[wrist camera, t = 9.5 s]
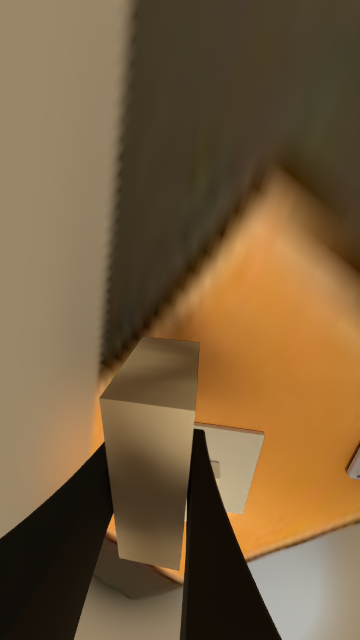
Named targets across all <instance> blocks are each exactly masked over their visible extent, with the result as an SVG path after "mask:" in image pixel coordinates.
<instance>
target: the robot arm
mask: <svg viewBox="0 0 360 640" xmlns="http://www.w3.org/2000/svg"><path fill="white" fill-rule="evenodd" d="M347 474H348V476H349V477H350V478H352V479H358V480H360V448H359V450H358V452H357V453H356V455H355V457H354V459H353V461H352V463H351V464H350V466H349V468H348V470H347ZM113 513H114V511H113V503H112V495H111V487H110V479H109V471H108V463H107V455H106V447H105V442H104V443H103V444H102V445H101V446H100V447H99V448H98V449H97V451H96V452H95V453H94V454H93V455H92V456H91V457H90V458H89V459H88V460H87V461H86V462H85V463H84V465H83V466H82V467H81V468H80V469H79V470H78V471H77V472H76V473H75V474H74V475H73V476H72V477H71V478H70V479H69V480H68V481H67V482H66V483H65V484H64V485H63V486H62V487H61V488H60V489H58V490H57V491H56V492H55V493H54V494H53V495H52V496H51V497H50V498H49V499H47V500H46V501H45V502H44V503H43V504H42V505H41V506H40V507H38V508H37V509H36V510H35V511H34V512H33V513H31V514H30V515H29V516H28V517H27V518H25V519H24V520H23V521H22V522H21V523H19V524H18V525H17V526H16V527H15V528H13V529H12V530H11V531H10V532H8V533H7V534H6V535H5V536H3V537H2V538H1V539H0V640H74V637H75V633H76V630H77V626H78V623H79V619H80V616H81V612H82V609H83V605H84V602H85V598H86V595H87V592H88V589H89V585H90V582H91V579H92V575H93V572H94V569H95V566H96V562H97V559H98V556H99V553H100V550H101V546H102V543H103V540H104V537H105V534H106V531H107V528H108V526H109V523H110V520H111V518H112V515H113ZM180 640H282V639H281V637H280V635H279V633H278V631H277V629H276V627H275V624H274V623H273V620H272V618H271V616H270V614H269V612H268V610H267V608H266V606H265V603H264V601H263V599H262V597H261V595H260V592H259V590H258V588H257V586H256V583H255V581H254V579H253V577H252V574H251V572H250V570H249V568H248V565H247V563H246V561H245V559H244V556H243V554H242V551H241V549H240V546H239V544H238V542H237V539H236V537H235V534H234V531H233V529H232V526H231V524H230V521H229V518H228V516H227V513H226V510H225V507H224V504H223V501H222V498H221V495H220V492H219V489H218V486H217V483H216V479H215V476H214V472H213V469H212V465H211V461H210V457H209V453H208V448H207V443H206V436H205V431H204V430H202V429H195V428H194V430H193V440H192V450H191V460H190V470H189V480H188V490H187V519H186V559H185V573H184V588H183V602H182V617H181V630H180Z"/></svg>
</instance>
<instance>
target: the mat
mask: <svg viewBox="0 0 360 640" xmlns="http://www.w3.org/2000/svg"><path fill="white" fill-rule="evenodd" d="M194 428H195V429H202V430H204V431H205V436H206V443H207V448H208V453H209V457H210V461H211V462H216V463H219V468H220V483H219V488H218V489H219V492H220V495H221V498H222V501H223V504H224V507H225V510H226V512H230V513H235V514H241V515H242V514H243V511H244V507H245V504H246V500H247V496H248V493H249V489H250V486H251V482H252V479H253V475H254V472H255V468H256V465H257V461H258V458H259V454H260V451H261V447H262V443H263V440H264V436H265V435H264V432H260V431H253V430H246V429H239V428H231V427H224V426H217V425H210V424H203V423H196V422H194Z"/></svg>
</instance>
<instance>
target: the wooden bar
mask: <svg viewBox="0 0 360 640" xmlns="http://www.w3.org/2000/svg"><path fill="white" fill-rule="evenodd" d="M199 347H200V342H191V341H181V340H171V339H161V338H151V337H142V339H141V340H140V342H139V343H138V344H137V346H136V347H135V349H134V350H133V351H132V353H131V354H130V356H129V357H128V358H127V360H126V361H125V363H124V364H123V366H122V367H121V368H120V370H119V371H118V373H117V374H116V375H115V377H114V378H113V380H112V381H111V382H110V384H109V385H108V387H107V388H106V390H105V391H104V392H103V394H102V395H101V397H100V398H99V399H100V407H101V415H102V423H103V431H104V439H105V447H106V455H107V463H108V471H109V479H110V487H111V495H112V503H113V511H114V519H115V526H116V534H117V542H118V550H119V558H123V559H128V560H132V561H137V562H141V563H146V564H150V565H155V566H160V567H164V568H169V569H173V570H178V571H179V570H180V560H181V550H182V540H183V530H184V520H185V510H186V500H187V490H188V480H189V470H190V460H191V450H192V440H193V430H194V420H195V409H196V394H197V378H198V363H199Z"/></svg>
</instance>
